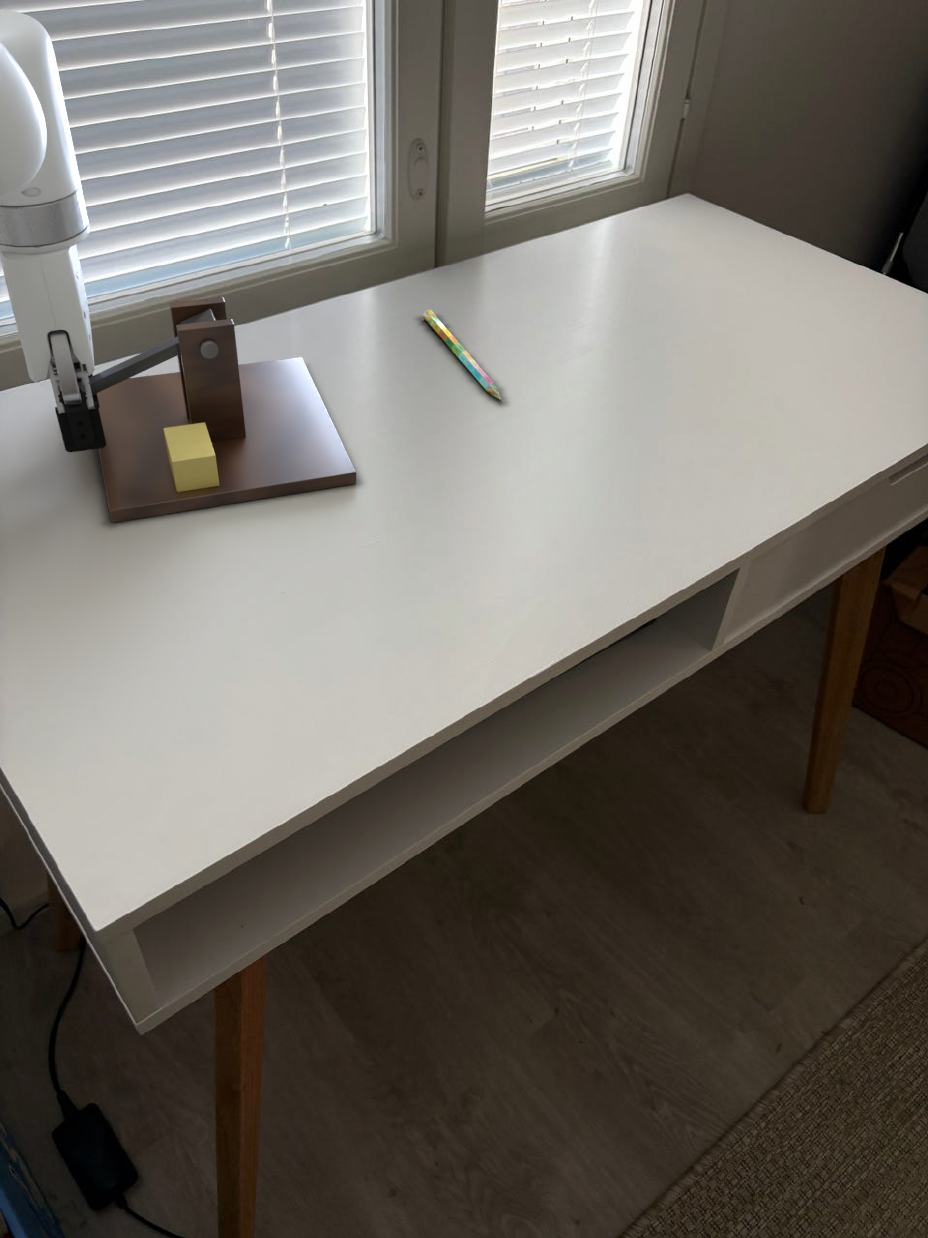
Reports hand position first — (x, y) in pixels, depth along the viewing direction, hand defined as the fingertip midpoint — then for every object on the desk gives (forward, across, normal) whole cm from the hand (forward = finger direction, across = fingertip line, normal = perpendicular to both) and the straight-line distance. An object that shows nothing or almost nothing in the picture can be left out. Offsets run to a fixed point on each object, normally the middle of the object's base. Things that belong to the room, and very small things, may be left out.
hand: (83, 427), depth 85 cm
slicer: (+3, 0, +11) cm, 11 cm away
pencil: (+3, -8, +37) cm, 38 cm away
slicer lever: (-4, 0, +6) cm, 7 cm away
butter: (+2, +6, +8) cm, 10 cm away
